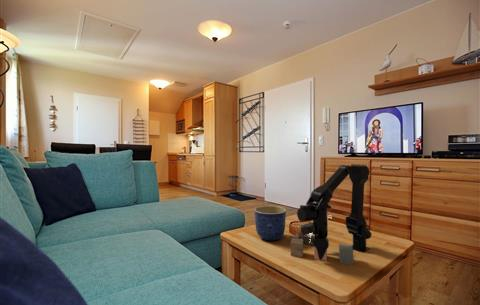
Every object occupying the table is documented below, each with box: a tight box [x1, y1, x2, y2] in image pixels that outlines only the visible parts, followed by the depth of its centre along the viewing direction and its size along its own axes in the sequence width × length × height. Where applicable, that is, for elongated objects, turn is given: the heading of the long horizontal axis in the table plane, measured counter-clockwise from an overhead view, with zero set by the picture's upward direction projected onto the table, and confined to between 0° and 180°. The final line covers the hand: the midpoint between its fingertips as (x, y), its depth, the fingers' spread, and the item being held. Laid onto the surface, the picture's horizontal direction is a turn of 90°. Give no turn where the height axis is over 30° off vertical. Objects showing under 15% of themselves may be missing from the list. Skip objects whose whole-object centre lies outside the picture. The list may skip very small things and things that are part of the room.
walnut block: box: [290, 237, 304, 258], centre depth 103 cm, size 5×5×6 cm
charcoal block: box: [338, 243, 354, 265], centre depth 96 cm, size 5×5×6 cm
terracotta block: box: [313, 246, 328, 262], centre depth 100 cm, size 5×5×6 cm
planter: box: [254, 205, 287, 241], centre depth 123 cm, size 17×17×15 cm
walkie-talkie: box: [293, 230, 311, 244], centre depth 118 cm, size 9×4×20 cm
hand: (320, 254), depth 100 cm, fingers open, 9 cm apart
